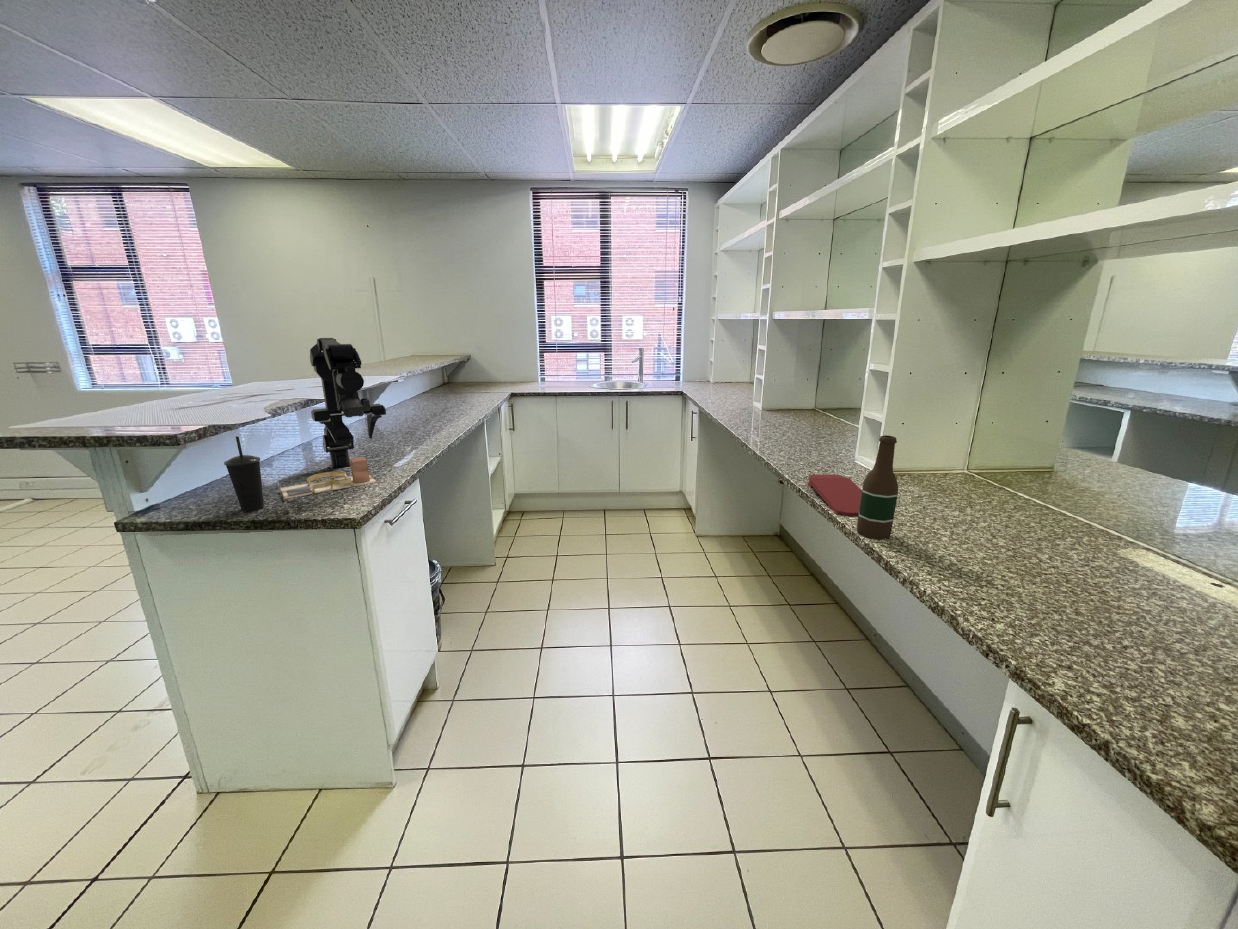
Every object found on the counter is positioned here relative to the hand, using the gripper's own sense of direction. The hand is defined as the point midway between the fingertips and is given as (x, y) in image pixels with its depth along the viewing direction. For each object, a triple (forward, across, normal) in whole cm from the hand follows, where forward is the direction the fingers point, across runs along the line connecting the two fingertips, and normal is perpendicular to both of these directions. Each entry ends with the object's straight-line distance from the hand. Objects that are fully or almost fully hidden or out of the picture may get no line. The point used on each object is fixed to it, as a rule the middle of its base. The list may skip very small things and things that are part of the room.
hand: (353, 440), depth 144 cm
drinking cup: (+15, -27, -2) cm, 31 cm away
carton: (+15, +105, -98) cm, 145 cm away
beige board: (+15, -8, +5) cm, 17 cm away
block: (+14, +1, +3) cm, 14 cm away
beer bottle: (+15, +88, -115) cm, 146 cm away
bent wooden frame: (+15, -8, +5) cm, 17 cm away
